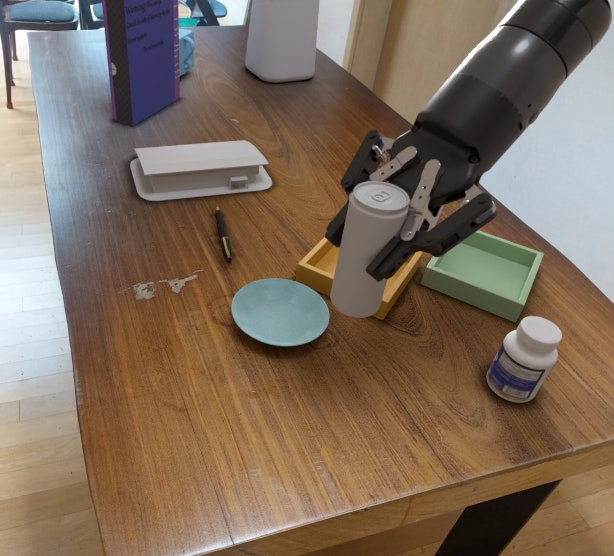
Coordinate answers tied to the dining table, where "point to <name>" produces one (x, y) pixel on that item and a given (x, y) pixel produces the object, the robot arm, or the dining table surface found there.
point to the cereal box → (142, 56)
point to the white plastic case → (199, 170)
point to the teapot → (186, 50)
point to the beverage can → (366, 245)
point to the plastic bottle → (282, 39)
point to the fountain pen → (224, 235)
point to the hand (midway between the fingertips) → (351, 258)
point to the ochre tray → (321, 269)
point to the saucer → (280, 312)
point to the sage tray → (486, 274)
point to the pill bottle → (524, 359)
